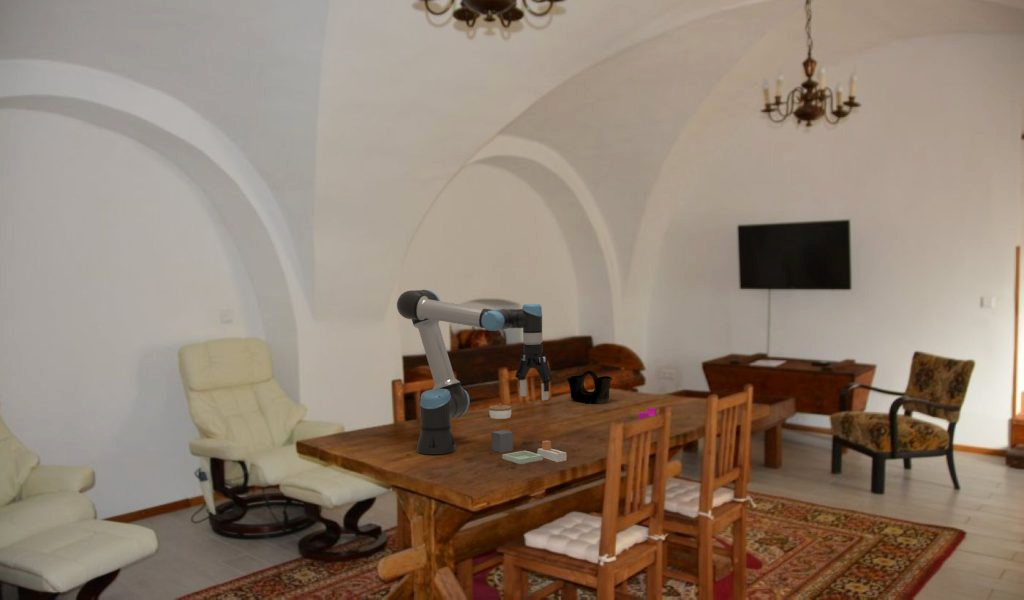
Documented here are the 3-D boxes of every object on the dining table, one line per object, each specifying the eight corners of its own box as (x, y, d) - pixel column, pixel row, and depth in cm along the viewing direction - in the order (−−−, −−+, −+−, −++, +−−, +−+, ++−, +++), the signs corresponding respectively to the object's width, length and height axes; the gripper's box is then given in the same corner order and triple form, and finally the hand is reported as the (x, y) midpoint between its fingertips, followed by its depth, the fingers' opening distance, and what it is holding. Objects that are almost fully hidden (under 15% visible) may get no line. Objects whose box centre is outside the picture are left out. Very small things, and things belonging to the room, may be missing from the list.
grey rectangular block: (500, 454, 301) (500, 434, 301) (491, 452, 306) (491, 431, 306) (513, 452, 304) (512, 432, 304) (504, 450, 309) (503, 430, 309)
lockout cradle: (519, 464, 283) (519, 459, 283) (502, 459, 292) (502, 454, 292) (542, 460, 290) (542, 455, 290) (525, 455, 298) (525, 450, 298)
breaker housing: (557, 462, 286) (557, 454, 286) (537, 456, 296) (537, 448, 296) (566, 460, 289) (566, 452, 289) (546, 455, 299) (546, 447, 299)
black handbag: (616, 409, 403) (615, 371, 403) (607, 412, 394) (607, 373, 393) (573, 406, 416) (572, 368, 416) (563, 408, 407) (563, 371, 406)
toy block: (652, 430, 345) (652, 413, 345) (639, 429, 348) (638, 413, 348) (661, 425, 359) (661, 408, 358) (648, 424, 361) (648, 408, 361)
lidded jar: (485, 424, 366) (485, 404, 365) (493, 420, 376) (493, 401, 376) (507, 425, 362) (507, 405, 362) (514, 421, 372) (514, 401, 372)
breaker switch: (546, 450, 293) (546, 442, 293) (542, 449, 295) (542, 441, 295) (551, 449, 295) (551, 441, 295) (547, 448, 297) (547, 440, 297)
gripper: (561, 344, 295) (562, 400, 296) (520, 341, 315) (521, 393, 315) (546, 345, 291) (547, 402, 291) (505, 342, 310) (507, 395, 311)
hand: (534, 398), depth 303 cm, fingers open, 13 cm apart
